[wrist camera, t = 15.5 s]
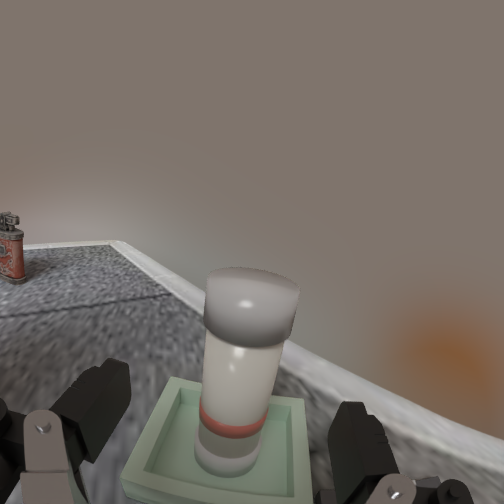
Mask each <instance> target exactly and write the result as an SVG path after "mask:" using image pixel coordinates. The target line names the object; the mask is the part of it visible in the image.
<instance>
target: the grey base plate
mask: <svg viewBox="0 0 504 504" xmlns="http://www.w3.org/2000/svg"><path fill="white" fill-rule="evenodd" d="M412 481H413V482H414V484H415V486H418V487H428V488H438V487H439V485H440V484H441V482H440V479H439V477H438V476H436V477H432V478H427V479H422V480H417V481H415V480H412ZM315 499H316V504H337V500H336V492H335V490H320V491H319V492H318V494H317V495H316V497H315Z"/></svg>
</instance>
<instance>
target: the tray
mask: <svg viewBox="0 0 504 504" xmlns="http://www.w3.org/2000/svg"><path fill="white" fill-rule="evenodd" d="M201 388H202V383H198V382H193V381H189V380H185V379H180V378H176V377H172V376H171V377H170V379H169V381H168V383H167V385H166V387H165V389H164V391H163V393H162V395H161V396H160V398H159V400H158V402H157V404H156V406H155V408H154V410H153V412H152V414H151V416H150V418H149V420H148V422H147V424H146V426H145V428H144V429H143V431H142V433H141V435H140V437H139V439H138V441H137V443H136V445H135V447H134V449H133V451H132V453H131V455H130V457H129V459H128V461H127V463H126V465H125V467H124V469H123V471H122V473H121V475H120V477H119V478H120V481H121V483H122V486H123V489H124V492H125V494H126V497H129V498H132V499H135V500H138V501H141V502H144V503H147V504H313V494H312V481H311V469H310V457H309V446H308V436H307V426H306V416H305V406H304V399H301V398H291V397H282V396H274V395H271V398H270V402H269V409H268V413H267V417H266V421H265V424H264V426H263V428H262V432H261V436H262V444H261V448H260V451H259V454H258V457H257V461H256V464H255V466H254V467H253V468H252V470H251V471H249V472H248V473H246V474H245V475H242V476H239V477H235V478H222V477H217V476H214V475H211V474H209V473H208V472H206V471H204V470H203V469H202V468H201V467H200V466H199V465H198V463H197V462H196V460H195V457H194V443H195V430H196V428H197V426H198V425H199V402H200V396H201Z"/></svg>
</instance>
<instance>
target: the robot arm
mask: <svg viewBox="0 0 504 504" xmlns="http://www.w3.org/2000/svg"><path fill="white" fill-rule="evenodd" d="M130 400H131V385H130V374H129V366H128V364H127V363H125V362H122V361H119V360H115V359H112V358H108V359H107V360H106V361H105V362H104V363H103V364H102V365H101V366H100V367H97V366H93V367H91V368H89V369H87V370H85V371H84V372H83V373H82V374H81V375H80V376H79V377H78V378H77V381H74V383H73V384H72V385H71V387H69V388H68V389H67V390H66V391H65V392H64V393H63V395H62V396H61V397H60V398H59V399H58V400H57V401H56V402H55V403H54V405H53V406H52V407H51V408H50V409H49V410H43V409H41V410H35V411H32V412H31V413H29V414H28V415H24V414H20V413H16V412H13V411H9V410H8V408H7V406H6V404H5V402H4V401H3V400H2V399H1V398H0V504H5V502H6V501H7V499H8V497H9V496H10V494H11V492H12V491H13V489H14V488H15V486H16V484H17V483H18V481H19V480H21V489H22V496H23V502H24V504H91V503H90V500H89V497H88V493H87V490H86V487H85V483H84V479H83V476H82V472H81V468H80V464H81V463H82V461H83V460H86V461H88V462H90V463H92V464H94V462H95V461H96V459H97V457H98V456H99V454H100V452H101V451H102V449H103V447H104V446H105V444H106V442H107V441H108V439H109V437H110V436H111V434H112V432H113V431H114V429H115V427H116V426H117V424H118V423H119V421H120V419H121V418H122V416H123V414H124V413H125V411H126V410H127V408H128V406H129V404H130ZM328 447H329V453H330V459H331V466H332V472H333V479H334V485H335V492H336V500H337V504H474V502H473V500H472V497H471V495H470V492H469V490H468V488H467V486H466V485H465V484H464V483H463V482H461V481H459V480H455V479H450V480H446V481H444V482H443V483H441V484H440V485H439V487H438V488H428V487H418V486H415V484H414V482H413V481H412V480H411V479H410V478H408V477H407V476H405V475H402V474H400V473H399V470H398V467H397V464H396V461H395V459H394V456H393V453H392V450H391V448H390V445H389V444H388V439H387V437H386V436H385V431H384V429H383V426H382V424H381V423H380V421H379V420H378V419H377V418H376V417H375V416H374V415H368V414H367V411H366V408H365V406H364V403H363V402H349V401H343V402H342V403H341V405H340V407H339V409H338V411H337V414H336V416H335V418H334V420H333V422H332V425H331V427H330V429H329V433H328Z"/></svg>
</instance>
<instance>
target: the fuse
mask: <svg viewBox="0 0 504 504" xmlns="http://www.w3.org/2000/svg"><path fill="white" fill-rule="evenodd" d="M299 295H300V288H299V286H298V285H297V284H296V283H295V282H293V281H292V280H290V279H288V278H286V277H284V276H281V275H278V274H275V273H272V272H268V271H263V270H259V269H252V268H242V267H230V268H221V269H217V270H214V271H212V272H210V273H209V274H208V277H207V287H206V296H205V306H204V316H203V322H204V325H205V327H206V328H207V331H206V341H205V352H204V364H203V375H202V388H201V396H200V402H199V425H198V426H197V428H196V430H195V443H194V457H195V460H196V462H197V463H198V465H199V466H200V467H201V468H202V469H203V470H204V471H206V472H208V473H209V474H211V475H214V476H217V477H222V478H235V477H239V476H242V475H245V474H246V473H248V472H249V471H251V470H252V468H253V467H254V466H255V464H256V461H257V457H258V454H259V451H260V448H261V444H262V436H261V432H262V428H263V426H264V424H265V421H266V417H267V413H268V409H269V402H270V398H271V394H272V391H273V387H274V383H275V379H276V375H277V371H278V366H279V362H280V358H281V354H282V350H283V345H284V341H285V340H286V339H288V337H289V336H290V334H291V331H292V326H293V322H294V317H295V313H296V308H297V303H298V299H299Z"/></svg>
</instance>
